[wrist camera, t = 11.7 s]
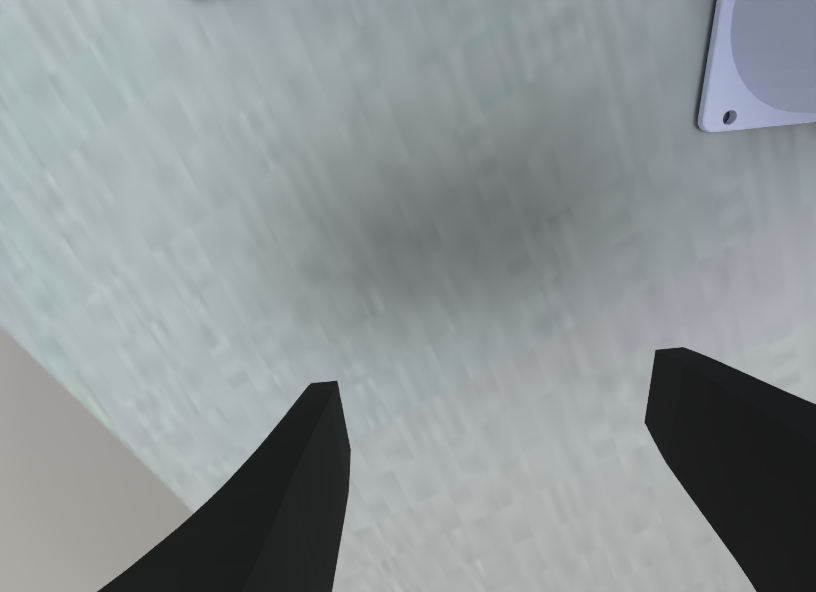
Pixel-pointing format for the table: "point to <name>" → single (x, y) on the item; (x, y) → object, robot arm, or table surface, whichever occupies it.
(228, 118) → the table surface
